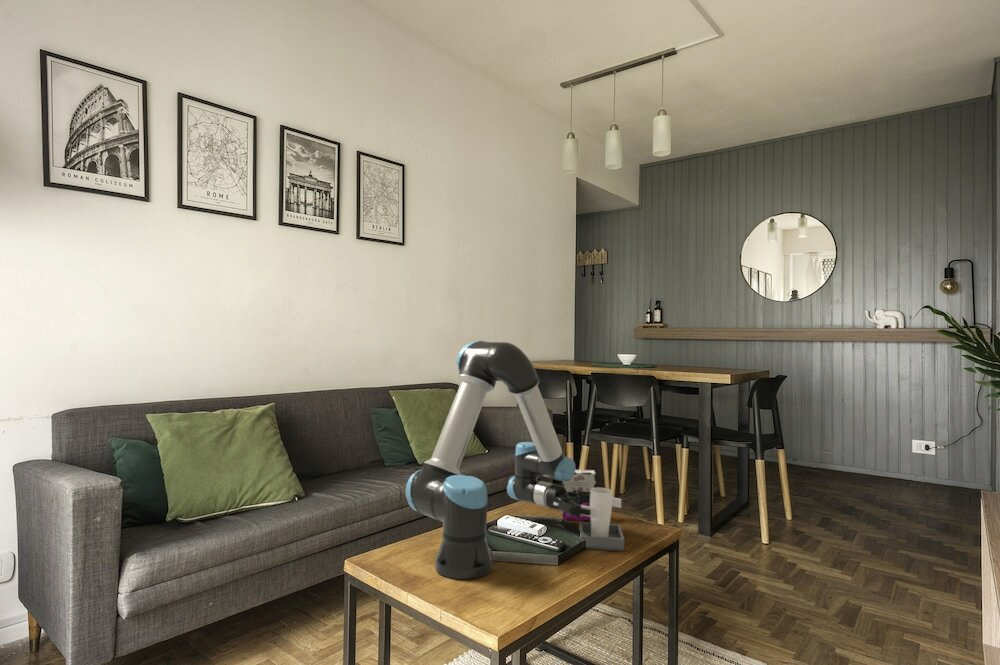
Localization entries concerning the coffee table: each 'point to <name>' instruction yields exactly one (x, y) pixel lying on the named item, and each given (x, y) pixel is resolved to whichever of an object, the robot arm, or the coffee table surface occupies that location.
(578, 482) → the candy bar box
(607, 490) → the white cup
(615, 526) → the tray
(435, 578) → the coffee table surface
